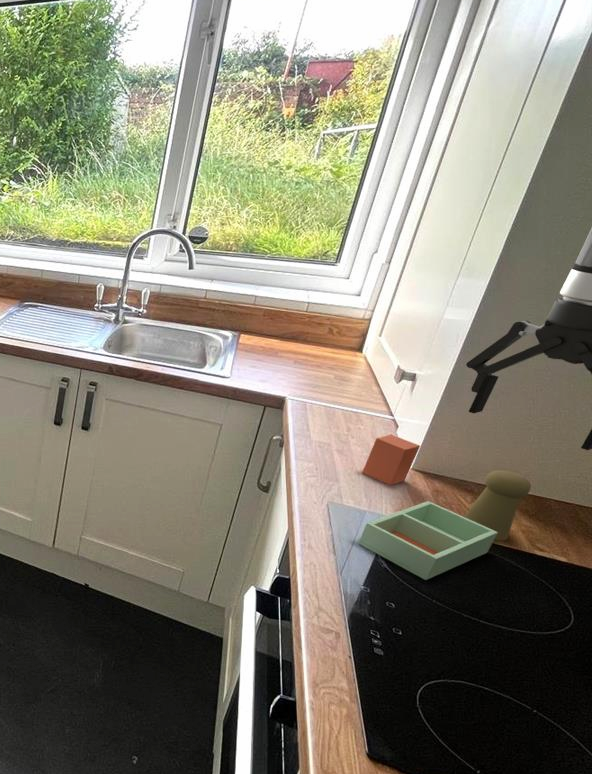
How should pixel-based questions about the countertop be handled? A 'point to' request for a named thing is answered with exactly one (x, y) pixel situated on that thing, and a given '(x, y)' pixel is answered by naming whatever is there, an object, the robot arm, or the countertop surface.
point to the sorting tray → (427, 539)
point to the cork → (499, 502)
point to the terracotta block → (390, 459)
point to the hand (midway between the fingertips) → (528, 428)
